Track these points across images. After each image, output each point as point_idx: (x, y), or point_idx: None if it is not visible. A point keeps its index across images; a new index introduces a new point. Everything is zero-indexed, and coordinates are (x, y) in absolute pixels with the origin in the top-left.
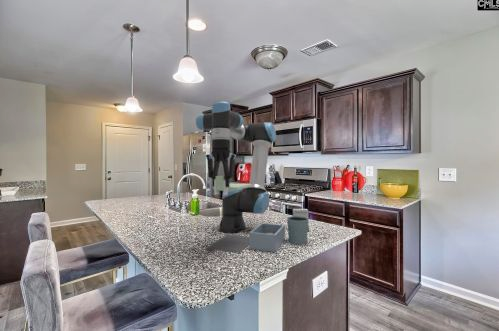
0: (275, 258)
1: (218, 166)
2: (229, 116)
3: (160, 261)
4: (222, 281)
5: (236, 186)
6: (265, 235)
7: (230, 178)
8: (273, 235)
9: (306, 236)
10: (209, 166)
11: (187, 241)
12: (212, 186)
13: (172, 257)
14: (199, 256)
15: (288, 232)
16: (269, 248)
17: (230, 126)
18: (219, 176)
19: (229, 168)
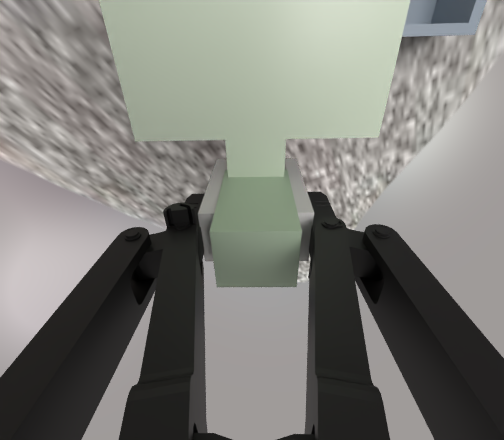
0: (427, 76)
1: (196, 337)
2: None
3: (153, 201)
4: None
5: (349, 36)
6: (425, 35)
7: (354, 237)
8: (462, 34)
9: None
10: (101, 374)
11: (77, 33)
12: (135, 140)
13: (157, 174)
14: (213, 145)
15: None
16: (417, 36)
17: None
18: (258, 284)
19: (392, 352)
